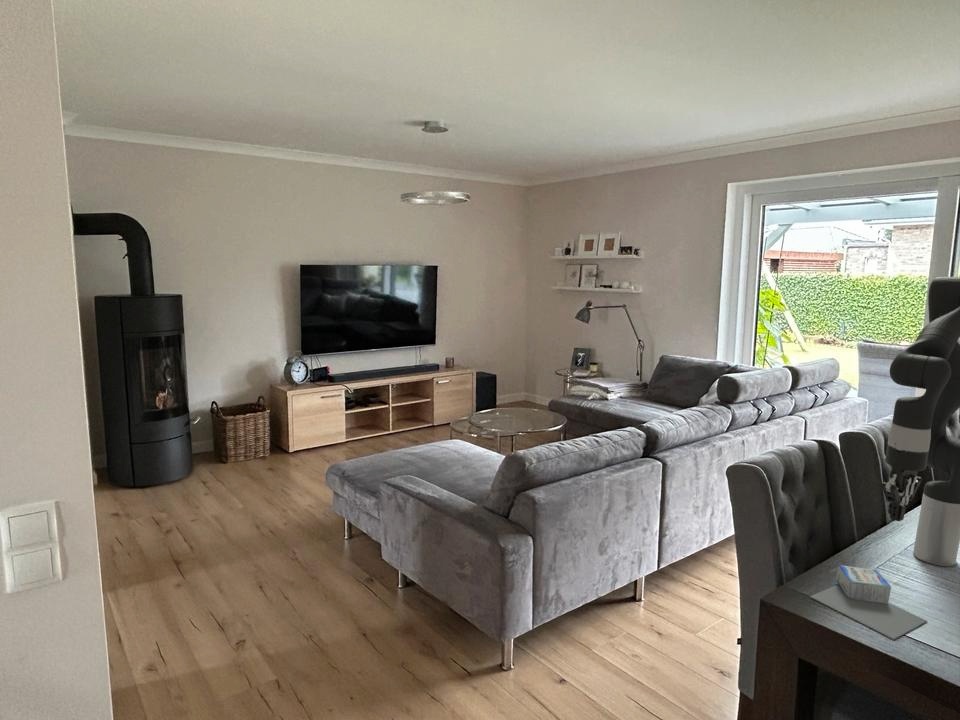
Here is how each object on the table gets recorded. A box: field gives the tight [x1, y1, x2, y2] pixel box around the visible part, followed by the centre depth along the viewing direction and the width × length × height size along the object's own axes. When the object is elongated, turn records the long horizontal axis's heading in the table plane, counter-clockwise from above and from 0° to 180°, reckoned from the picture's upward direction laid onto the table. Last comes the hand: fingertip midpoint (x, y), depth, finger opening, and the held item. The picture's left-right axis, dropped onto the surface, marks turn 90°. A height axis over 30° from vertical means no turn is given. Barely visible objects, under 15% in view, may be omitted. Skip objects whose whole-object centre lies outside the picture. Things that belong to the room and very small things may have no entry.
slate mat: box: [809, 583, 928, 641], centre depth 139 cm, size 14×18×1 cm
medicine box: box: [835, 564, 892, 604], centre depth 145 cm, size 8×4×9 cm
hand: (896, 519), depth 139 cm, fingers closed
